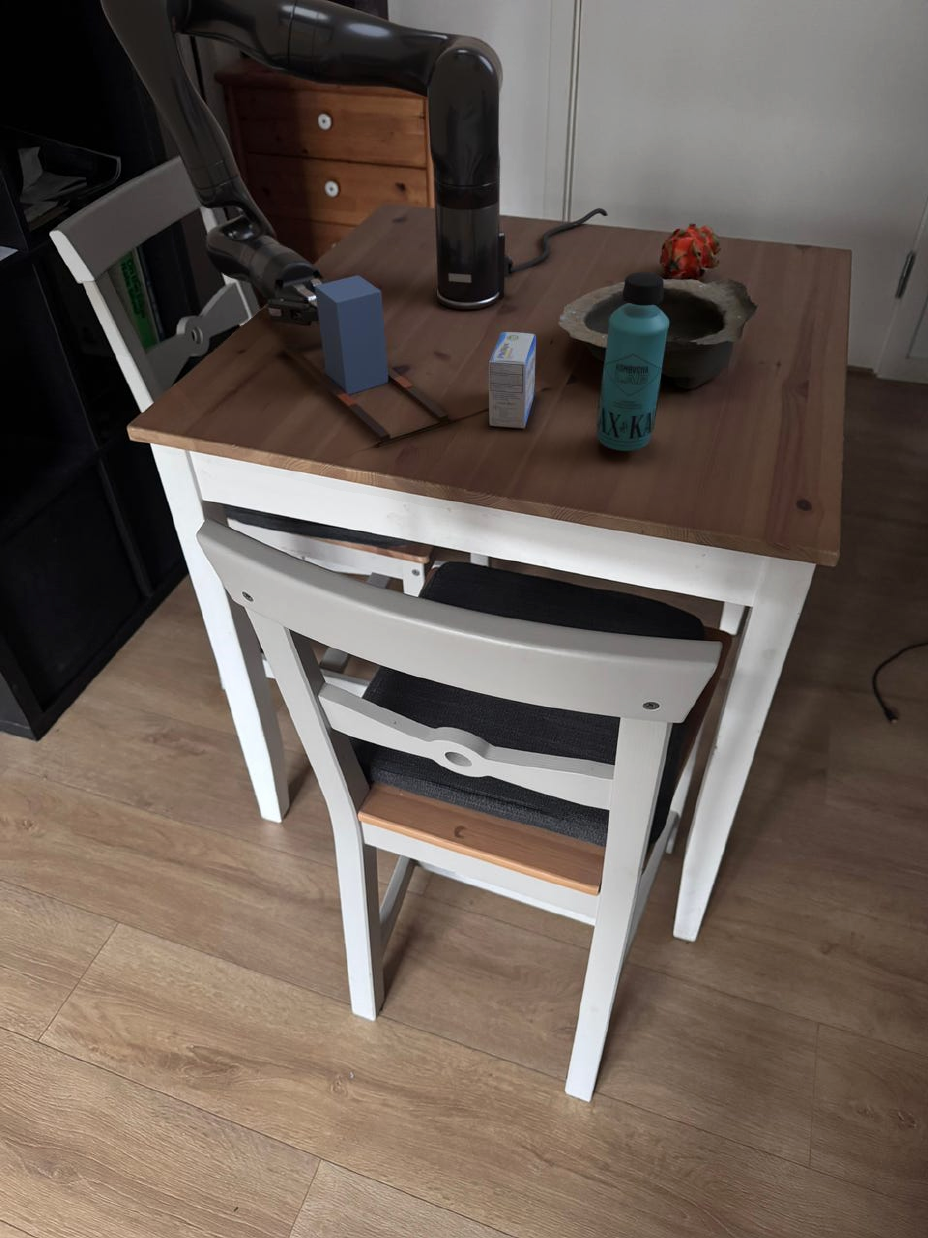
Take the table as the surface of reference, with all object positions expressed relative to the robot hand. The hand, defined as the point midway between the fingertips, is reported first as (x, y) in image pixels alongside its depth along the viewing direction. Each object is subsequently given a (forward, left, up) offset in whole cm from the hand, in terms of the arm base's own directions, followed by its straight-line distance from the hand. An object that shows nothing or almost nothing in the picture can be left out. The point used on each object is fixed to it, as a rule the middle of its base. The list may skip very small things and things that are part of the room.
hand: (341, 323), depth 114 cm
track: (0, +4, -7) cm, 8 cm away
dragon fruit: (-59, +1, -7) cm, 59 cm away
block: (0, +3, -6) cm, 7 cm away
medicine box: (-13, +20, -7) cm, 25 cm away
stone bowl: (-36, +19, -7) cm, 41 cm away
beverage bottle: (-19, +34, -7) cm, 40 cm away
